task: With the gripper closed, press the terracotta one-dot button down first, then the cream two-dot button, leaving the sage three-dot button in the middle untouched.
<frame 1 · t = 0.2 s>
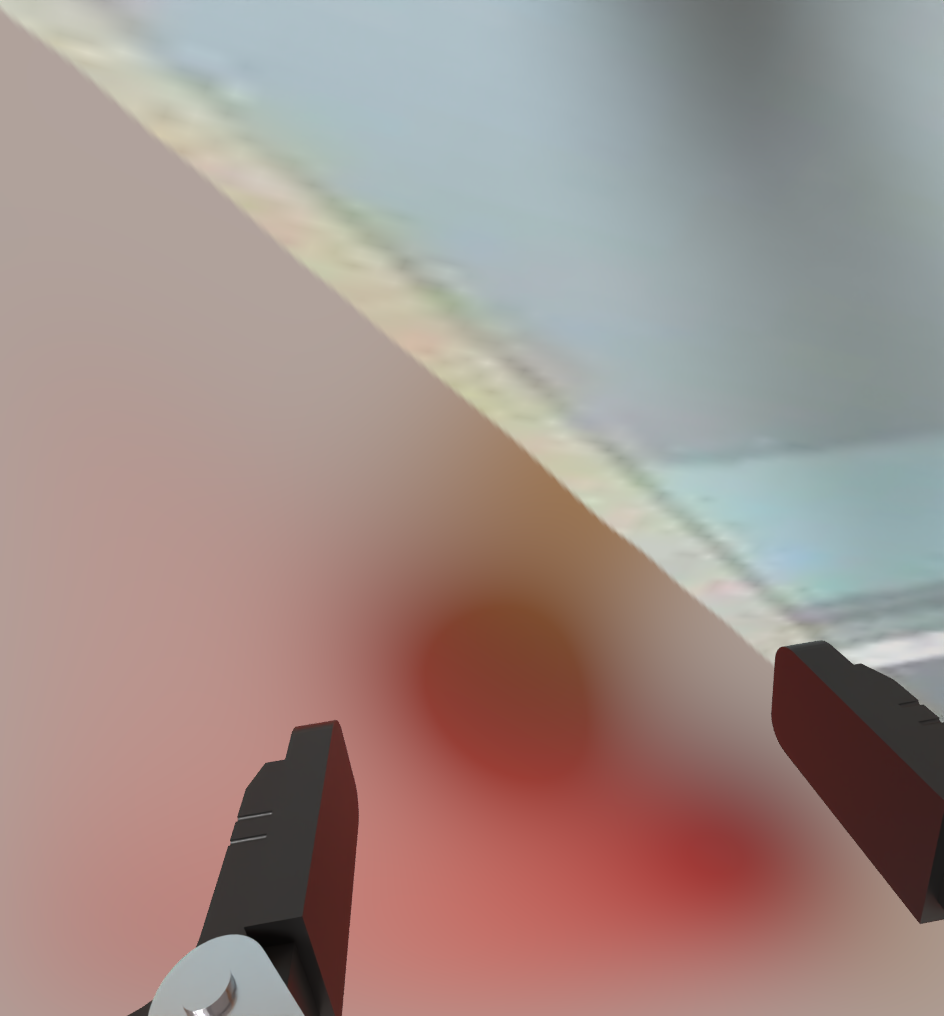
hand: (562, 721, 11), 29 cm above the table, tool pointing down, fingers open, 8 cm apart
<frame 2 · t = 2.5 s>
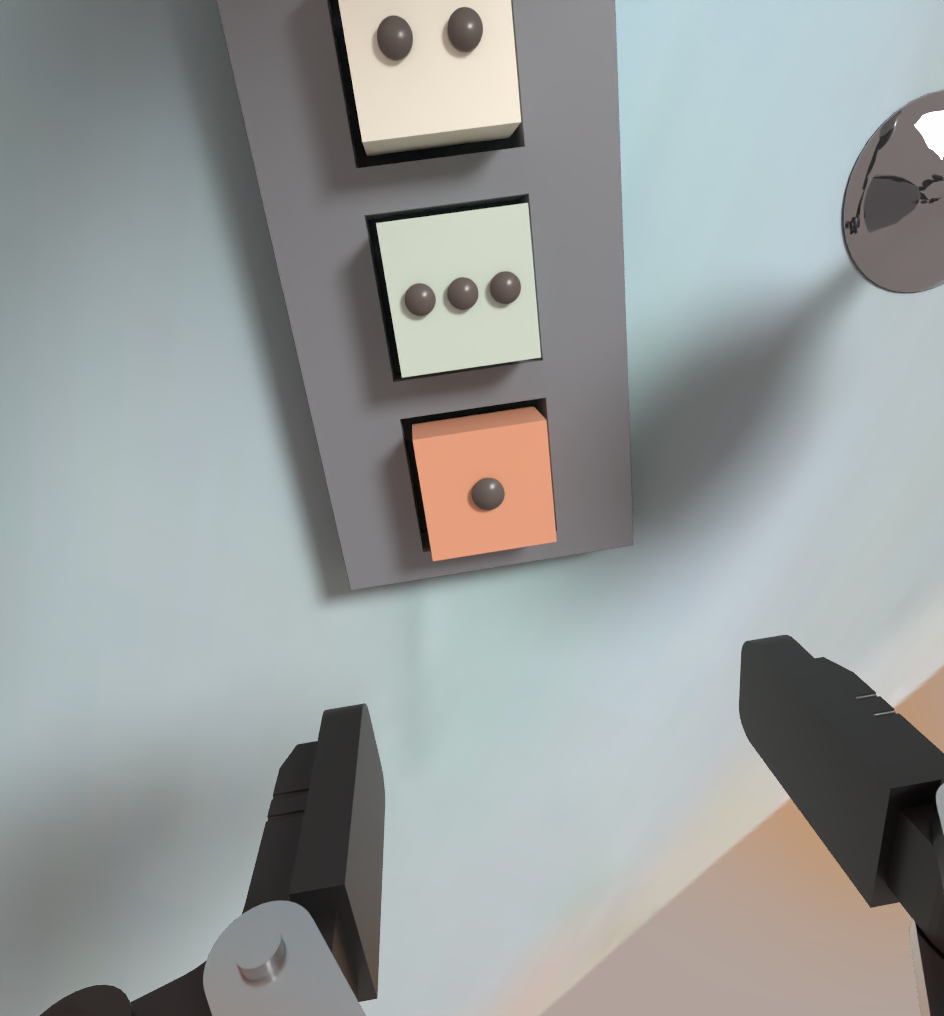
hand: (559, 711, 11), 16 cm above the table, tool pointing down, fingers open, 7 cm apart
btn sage: (459, 292, 21), point 3 cm above the table, slide at 0.0 cm
button board: (454, 290, 24), on the table
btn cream: (428, 48, 19), point 3 cm above the table, slide at 0.0 cm
wine glass: (926, 196, 24), on the table
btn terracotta: (484, 483, 24), point 3 cm above the table, slide at 0.0 cm
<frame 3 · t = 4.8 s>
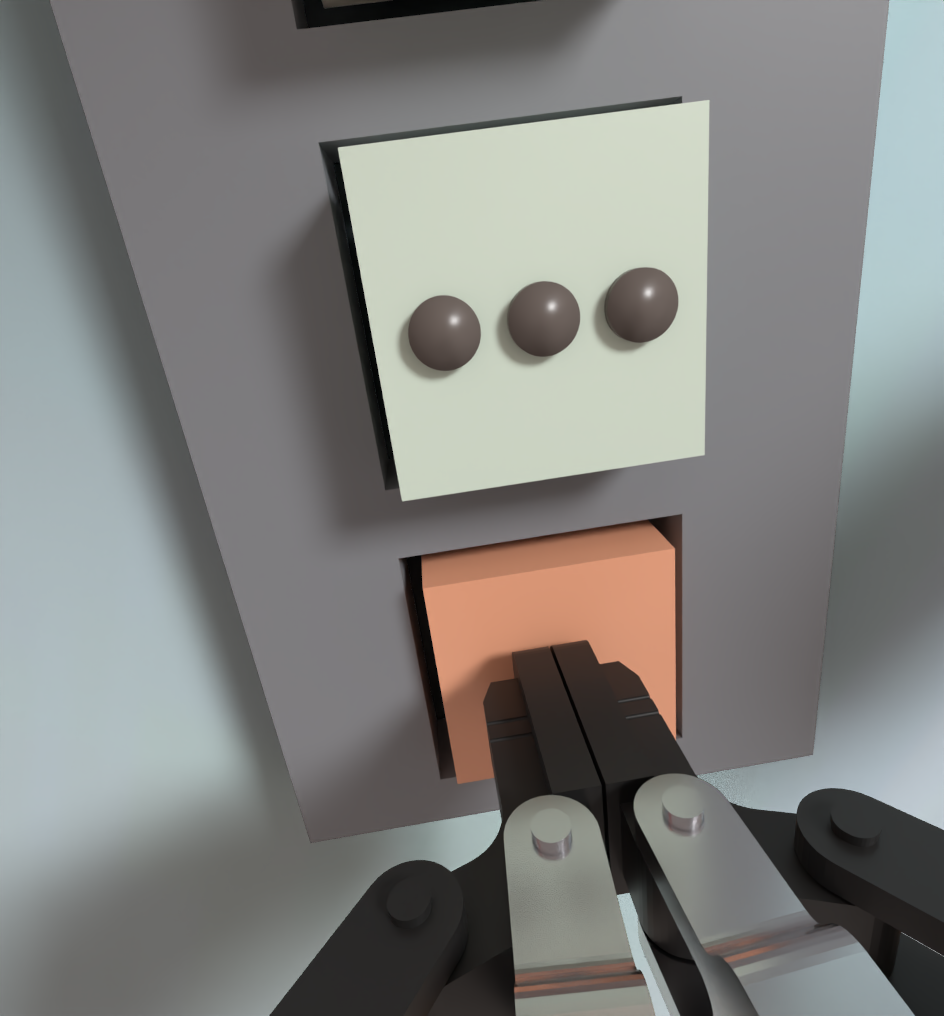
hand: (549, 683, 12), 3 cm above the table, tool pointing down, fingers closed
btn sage: (528, 313, 10), point 3 cm above the table, slide at 0.0 cm
button board: (503, 304, 12), on the table
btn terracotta: (548, 643, 13), point 2 cm above the table, slide at 1.2 cm, touching gripper
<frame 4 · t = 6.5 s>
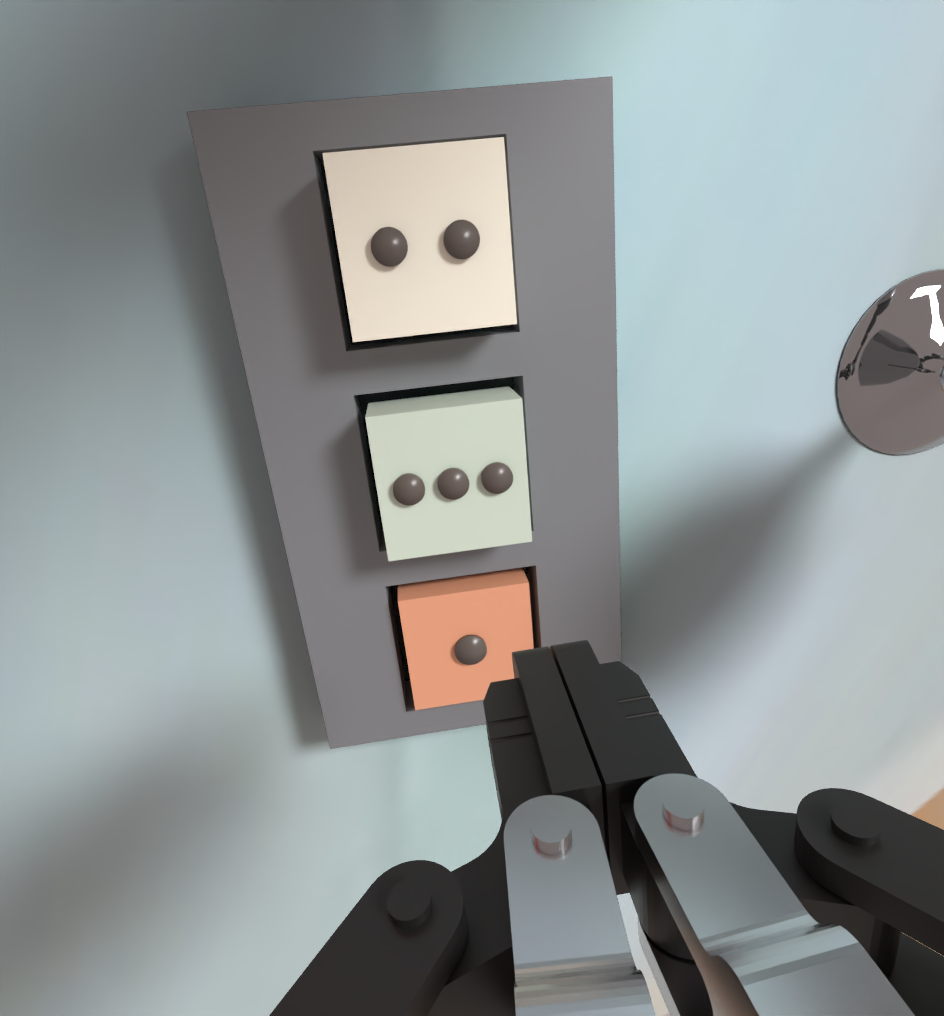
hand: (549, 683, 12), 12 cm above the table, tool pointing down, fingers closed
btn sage: (450, 472, 21), point 3 cm above the table, slide at 0.0 cm
button board: (444, 452, 23), on the table
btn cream: (423, 245, 18), point 3 cm above the table, slide at 0.0 cm
wine glass: (919, 365, 24), on the table
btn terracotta: (467, 632, 24), point 1 cm above the table, slide at 1.3 cm
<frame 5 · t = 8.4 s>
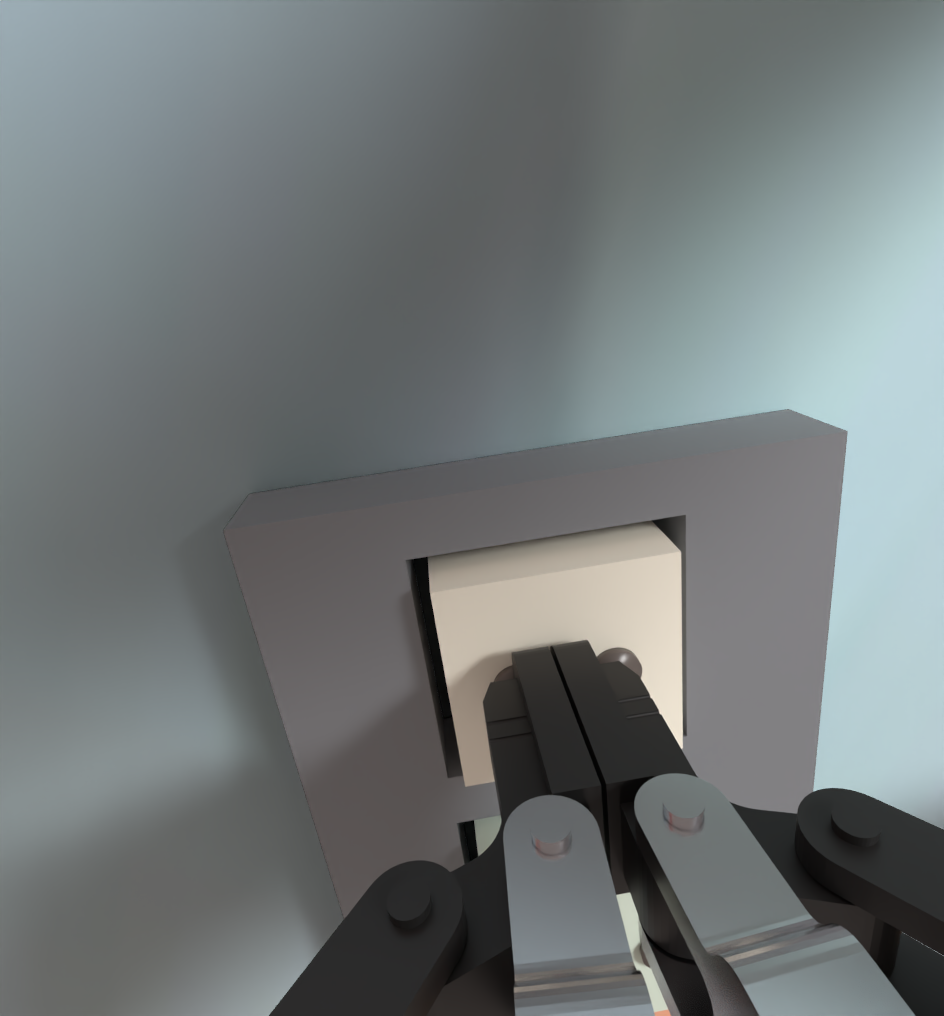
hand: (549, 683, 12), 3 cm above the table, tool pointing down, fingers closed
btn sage: (587, 910, 15), point 3 cm above the table, slide at 0.0 cm
button board: (562, 818, 18), on the table
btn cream: (554, 645, 13), point 2 cm above the table, slide at 1.1 cm, touching gripper
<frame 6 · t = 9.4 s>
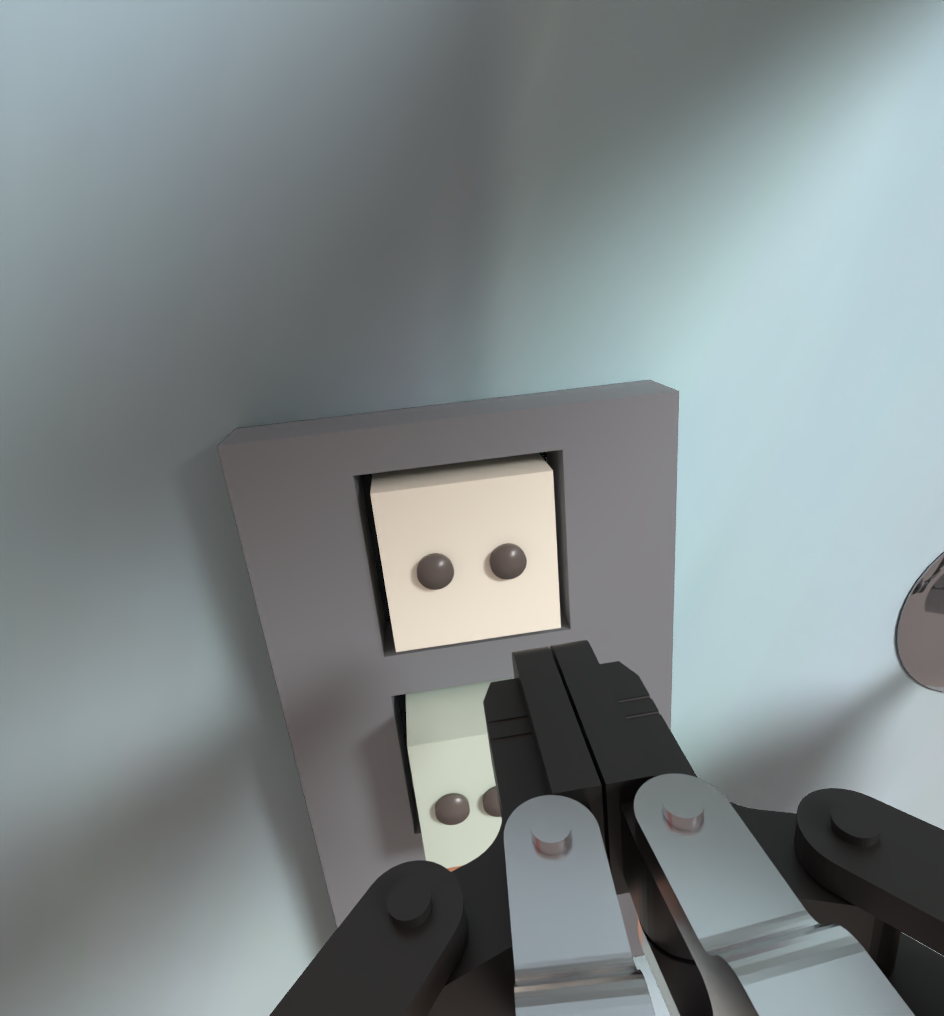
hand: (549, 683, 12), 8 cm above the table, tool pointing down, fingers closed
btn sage: (493, 770, 19), point 3 cm above the table, slide at 0.0 cm
button board: (482, 713, 22), on the table
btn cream: (466, 548, 18), point 1 cm above the table, slide at 1.3 cm
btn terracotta: (503, 892, 23), point 1 cm above the table, slide at 1.3 cm
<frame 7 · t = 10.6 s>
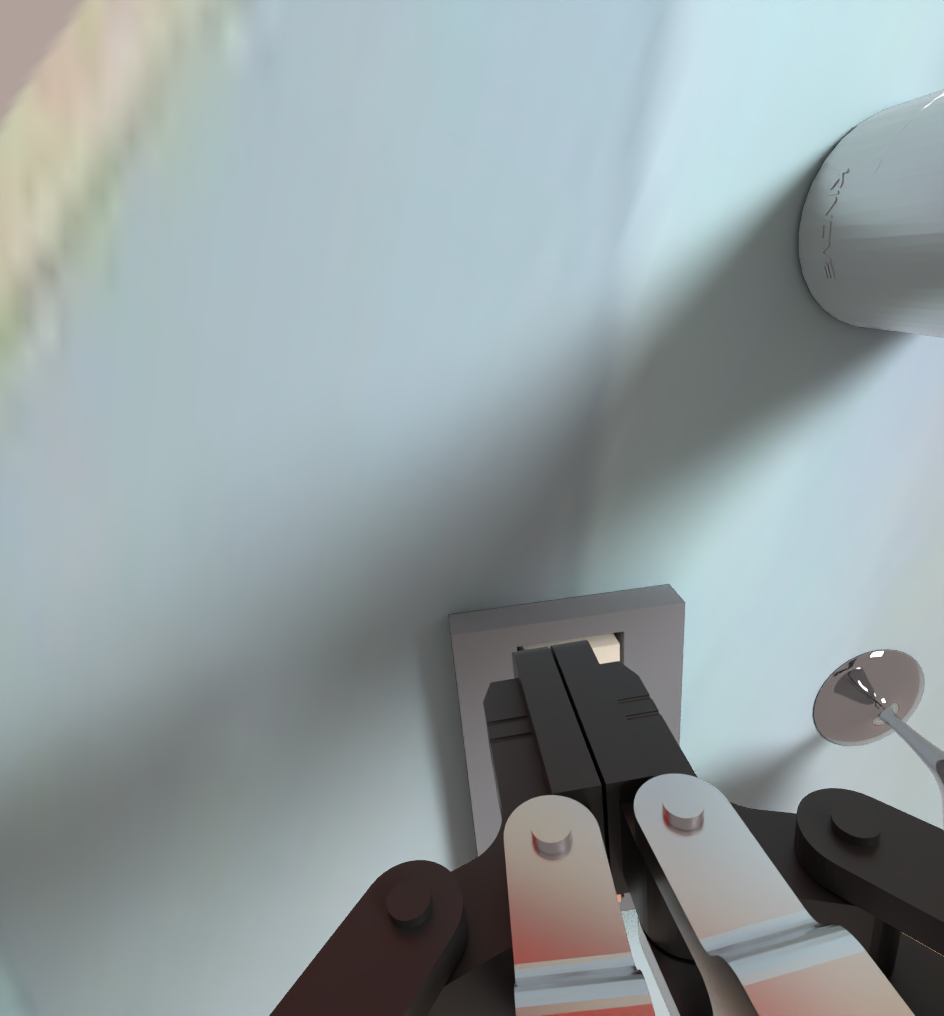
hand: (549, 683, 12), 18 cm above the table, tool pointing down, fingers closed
button board: (567, 759, 37), on the table
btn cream: (569, 676, 33), point 1 cm above the table, slide at 1.3 cm
wine glass: (866, 697, 38), on the table
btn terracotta: (576, 864, 38), point 1 cm above the table, slide at 1.3 cm
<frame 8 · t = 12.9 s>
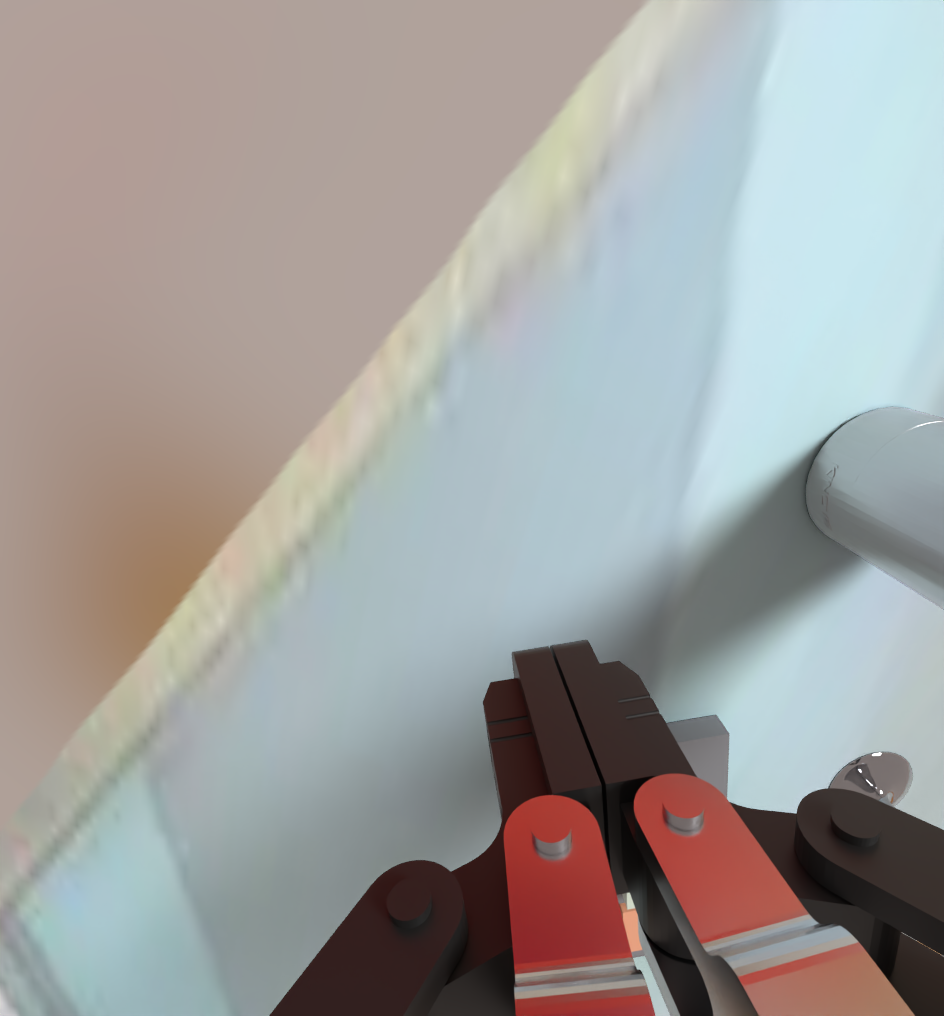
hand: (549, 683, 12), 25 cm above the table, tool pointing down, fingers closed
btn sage: (652, 868, 47), point 3 cm above the table, slide at 0.0 cm
button board: (640, 837, 49), on the table
wine glass: (868, 785, 50), on the table
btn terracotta: (648, 914, 50), point 1 cm above the table, slide at 1.3 cm
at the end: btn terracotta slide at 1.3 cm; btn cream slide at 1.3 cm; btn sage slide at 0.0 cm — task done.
